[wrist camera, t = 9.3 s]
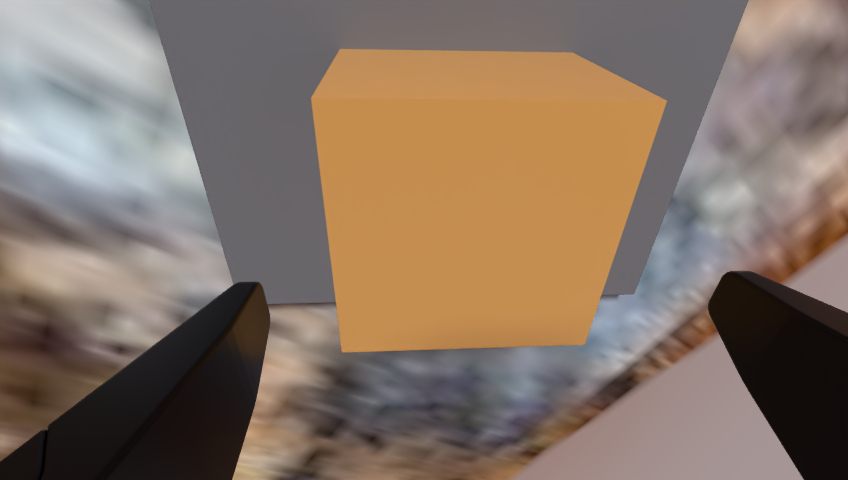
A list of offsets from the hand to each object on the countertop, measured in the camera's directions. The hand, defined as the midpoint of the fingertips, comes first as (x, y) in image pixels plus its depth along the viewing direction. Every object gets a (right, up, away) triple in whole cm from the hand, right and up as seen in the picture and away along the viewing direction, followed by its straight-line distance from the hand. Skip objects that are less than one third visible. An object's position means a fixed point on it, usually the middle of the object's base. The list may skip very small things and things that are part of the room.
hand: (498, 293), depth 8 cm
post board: (-1, +4, +6) cm, 8 cm away
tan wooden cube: (-1, +4, +6) cm, 7 cm away
